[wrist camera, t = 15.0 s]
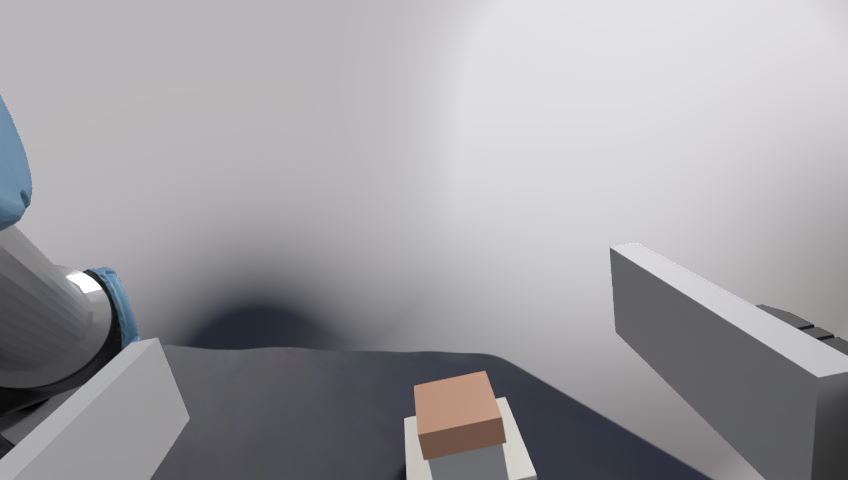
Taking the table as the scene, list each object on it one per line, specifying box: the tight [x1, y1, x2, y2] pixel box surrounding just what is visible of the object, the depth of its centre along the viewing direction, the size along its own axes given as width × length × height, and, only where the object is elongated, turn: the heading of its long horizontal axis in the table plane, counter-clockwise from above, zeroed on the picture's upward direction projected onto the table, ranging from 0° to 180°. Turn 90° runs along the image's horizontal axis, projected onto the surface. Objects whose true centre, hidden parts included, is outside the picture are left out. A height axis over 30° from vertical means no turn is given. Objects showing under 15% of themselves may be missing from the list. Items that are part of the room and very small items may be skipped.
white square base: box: [404, 397, 537, 480], centre depth 40 cm, size 10×10×4 cm
